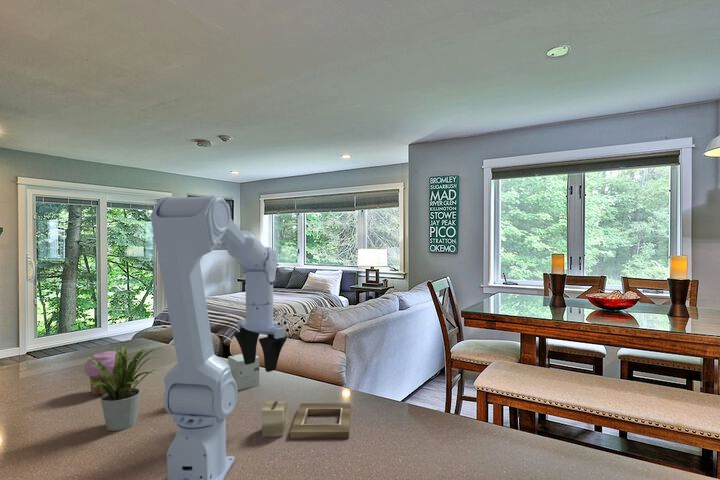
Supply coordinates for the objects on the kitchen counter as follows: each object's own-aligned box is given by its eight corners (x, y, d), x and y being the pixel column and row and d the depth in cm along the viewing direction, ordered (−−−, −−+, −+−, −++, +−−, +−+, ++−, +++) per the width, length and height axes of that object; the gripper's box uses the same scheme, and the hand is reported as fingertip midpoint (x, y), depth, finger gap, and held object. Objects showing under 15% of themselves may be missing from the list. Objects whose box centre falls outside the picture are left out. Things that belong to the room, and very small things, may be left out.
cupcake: (79, 400, 93) (78, 358, 93) (91, 387, 102) (90, 348, 102) (122, 395, 96) (121, 354, 96) (130, 383, 104) (130, 345, 104)
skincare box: (237, 391, 98) (237, 361, 98) (227, 384, 103) (227, 356, 103) (260, 385, 102) (259, 356, 102) (249, 379, 107) (249, 351, 107)
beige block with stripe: (283, 436, 76) (282, 409, 76) (262, 436, 76) (261, 409, 76) (287, 426, 80) (286, 400, 80) (267, 426, 80) (266, 400, 80)
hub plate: (348, 438, 74) (348, 431, 74) (290, 438, 75) (290, 431, 75) (350, 408, 87) (350, 402, 87) (300, 408, 88) (300, 403, 88)
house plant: (180, 419, 83) (179, 341, 83) (111, 449, 71) (110, 358, 71) (140, 405, 90) (140, 333, 90) (71, 431, 78) (70, 348, 78)
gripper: (296, 304, 83) (296, 369, 83) (255, 298, 93) (256, 356, 93) (268, 308, 78) (268, 378, 78) (228, 301, 88) (228, 363, 88)
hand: (260, 367), depth 85 cm, fingers open, 7 cm apart
